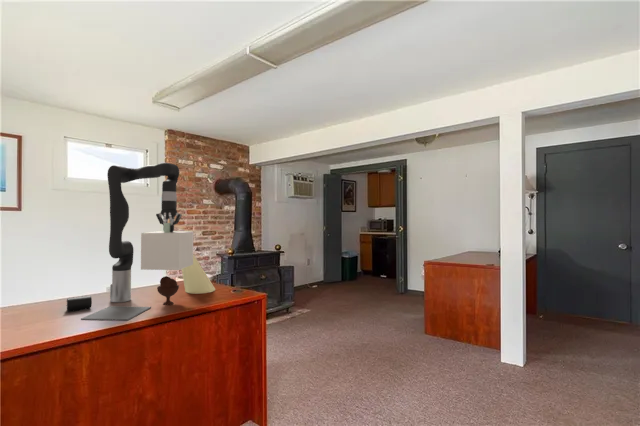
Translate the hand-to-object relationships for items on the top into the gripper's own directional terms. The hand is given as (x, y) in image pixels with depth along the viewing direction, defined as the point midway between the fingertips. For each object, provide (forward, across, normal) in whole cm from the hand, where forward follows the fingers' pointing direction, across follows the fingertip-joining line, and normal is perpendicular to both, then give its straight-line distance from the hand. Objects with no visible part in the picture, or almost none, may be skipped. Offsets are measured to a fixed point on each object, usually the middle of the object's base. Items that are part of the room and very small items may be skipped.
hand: (168, 232), depth 191 cm
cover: (+19, 0, 0) cm, 19 cm away
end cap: (+39, -39, -14) cm, 57 cm away
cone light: (+39, +3, +33) cm, 51 cm away
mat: (+39, -16, -19) cm, 46 cm away
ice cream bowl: (+39, 0, 0) cm, 39 cm away
